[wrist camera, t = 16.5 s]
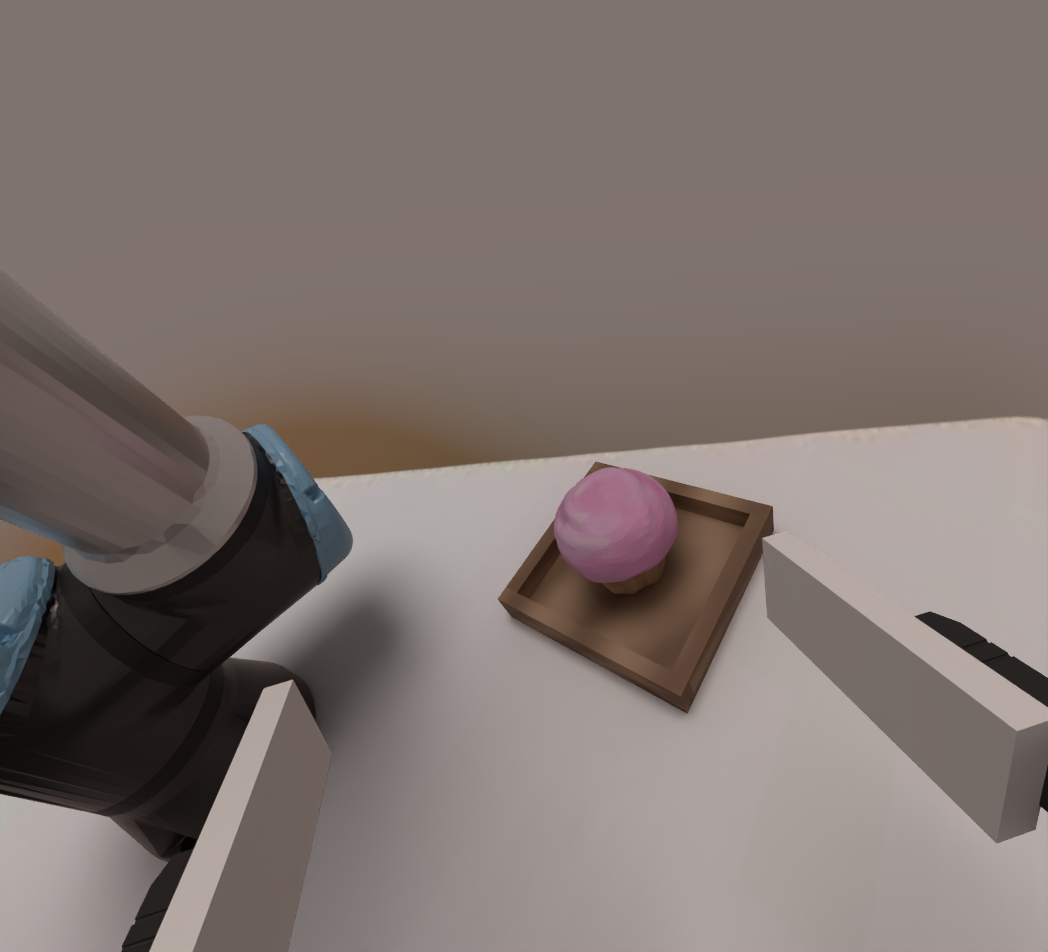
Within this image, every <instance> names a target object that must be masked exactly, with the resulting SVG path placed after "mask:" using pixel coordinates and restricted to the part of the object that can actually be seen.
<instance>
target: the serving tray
mask: <svg viewBox="0 0 1048 952" xmlns="http://www.w3.org/2000/svg"><path fill="white" fill-rule="evenodd" d="M607 467H614V468H619V467H615V466H611V465H607V464H603V463H599V462H595V463H594V464H593V466H592V467H591V469H590V470H589V471H588V473H587V474H586V476H588V475H590V474H591V473H593V472H595V471H597V470H600V469H603V468H607ZM586 476H585V477H586ZM649 476H651V475H649ZM585 477H584V478H585ZM651 477H652V478H654V479H655V480H656V481H657V482H659V483H660V484H661V485H662V486H663V487H664V489H665V490H666V491H667V493H668V494H669V496H670V498H671V500H672V502H673V504H674V507H675V509H676V512H677V519H678V532H677V535H676V538H675V541H674V543H673V545H672V546H671V548H670V550H669V551H668V553H667V554H666V558H665V565H664V569H663V573H662V576H661V578H660V579H659V580H658V581H657V582H655V583H654V584H652V585H649V586H646V587H644V588H642V589H640V590H639V591H638V592H636V593H635V594H615V593H613V592H612V591H610V590H609V589H608V588H606V587H605V586H604V585H603V584H602V583H597V582H593V581H590V580H588V579H587V578H585V577H583V576H582V575H580V574H579V573H577V572H576V571H575V570H573V569H572V568H571V567H570V566H569V565H568V564H567V563H566V562H565V560H564V559H563V558H562V556H561V553H560V551H559V549H558V545H557V541H556V538H555V536H554V521H555V519H554V521H553V522H552V523H551V525H550V526H549V528H548V529H547V531H546V532H545V533H544V535H543V536H542V538H541V539H540V540H539V542H538V543H537V545H536V546H535V547H534V549H533V550H532V552H531V553H530V554H529V556H528V557H527V559H526V560H525V561H524V563H523V564H522V566H521V567H520V568H519V570H518V571H517V573H516V574H515V576H514V577H513V578H512V580H511V581H510V583H509V584H508V585H507V587H506V588H505V590H504V591H503V592H502V594H501V595H500V597H499V598H498V600H499V601H500V603H501V604H502V605H503V607H504V608H505V609H506V610H507V612H508V613H509V614H510V615H511V616H512V617H513V618H515V619H517V620H519V621H521V622H523V623H524V624H526V625H528V626H530V627H532V628H533V629H535V630H537V631H539V632H541V633H543V634H544V635H546V636H548V637H550V638H552V639H553V640H555V641H557V642H559V643H561V644H563V645H564V646H566V647H568V648H570V649H572V650H573V651H575V652H577V653H579V654H581V655H583V656H584V657H586V658H588V659H590V660H592V661H593V662H595V663H597V664H599V665H601V666H603V667H604V668H606V669H608V670H610V671H612V672H613V673H615V674H617V675H619V676H621V677H623V678H624V679H626V680H628V681H630V682H632V683H633V684H635V685H637V686H639V687H641V688H643V689H644V690H646V691H648V692H650V693H652V694H653V695H655V696H657V697H659V698H661V699H663V700H664V701H666V702H668V703H670V704H672V705H673V706H675V707H677V708H679V709H681V710H683V711H684V712H686V713H688V710H689V708H690V706H691V704H692V702H693V700H694V698H695V696H696V693H697V691H698V689H699V687H700V685H701V683H702V681H703V679H704V676H705V674H706V672H707V670H708V668H709V666H710V664H711V662H712V659H713V657H714V655H715V653H716V651H717V649H718V647H719V645H720V642H721V640H722V638H723V636H724V634H725V632H726V630H727V628H728V626H729V623H730V621H731V619H732V617H733V615H734V613H735V611H736V609H737V606H738V604H739V602H740V600H741V598H742V596H743V594H744V592H745V589H746V587H747V585H748V583H749V581H750V579H751V577H752V575H753V572H754V570H755V568H756V566H757V564H758V562H759V560H760V558H761V555H762V553H763V545H762V538H764V537H767V536H771V534H772V532H773V530H774V526H773V506H769V505H765V504H761V503H757V502H753V501H749V500H745V499H741V498H737V497H733V496H730V495H726V494H722V493H718V492H714V491H710V490H706V489H702V488H698V487H694V486H690V485H686V484H682V483H678V482H674V481H670V480H666V479H662V478H659V477H655V476H651Z"/></svg>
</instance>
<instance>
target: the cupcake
mask: <svg viewBox="0 0 1048 952" xmlns="http://www.w3.org/2000/svg"><path fill="white" fill-rule="evenodd" d="M677 532H678V519H677V512H676V509H675V507H674V504H673V502H672V500H671V498H670V496H669V494H668V493H667V491H666V490H665V489H664V487H663V486H662V485H661V484H660V483H659V482H657V481H656V480H655V479H654V478H652V477H651V476H649V475H647V474H645V473H642V472H639V471H637V470H633V469H626V468H614V467H607V468H603V469H600V470H597V471H595V472H593V473H591V474H590V475H588V476H586V477H585V478H583V479H582V480H581V481H579V482H578V483H577V484H576V486H574V487H573V488H571V489H570V490H569V491H568V492H567V494H566V495H565V497H564V499H563V501H562V503H561V504H560V506H559V508H558V510H557V513H556V516H555V521H554V536H555V538H556V541H557V545H558V549H559V551H560V553H561V556H562V558H563V559H564V560H565V562H566V563H567V564H568V565H569V566H570V567H571V568H572V569H573V570H575V571H576V572H577V573H579V574H580V575H582V576H583V577H585V578H587V579H588V580H590V581H593V582H597V583H602V584H603V585H604V586H605V587H606V588H608V589H609V590H610V591H612V592H613V593H615V594H635V593H636V592H638V591H639V590H640V589H642V588H644V587H646V586H649V585H652V584H654V583H655V582H657V581H658V580H659V579H660V578H661V576H662V573H663V569H664V565H665V558H666V554H667V553H668V551H669V550H670V548H671V546H672V545H673V543H674V541H675V538H676V535H677Z"/></svg>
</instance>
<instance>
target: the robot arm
mask: <svg viewBox="0 0 1048 952" xmlns="http://www.w3.org/2000/svg"><path fill="white" fill-rule="evenodd" d="M0 520H3V521H5V522H8V523H10V524H13V525H15V526H18V527H20V528H23V529H25V530H28V531H31V532H33V533H36V534H38V535H41V536H43V537H46V538H48V539H51V540H54V541H56V542H59V543H61V544H62V549H63V554H64V558H65V561H66V563H64V564H63V565H61V566H58V567H56V566H54V563H53V561H51V560H50V559H48V558H39V557H35V556H21V557H18V558H15V559H14V560H13V561H8V562H6V563H4V564H2V565H1V566H0V794H3V795H7V796H12V797H17V798H22V799H27V800H32V801H36V802H41V803H46V804H51V805H56V806H61V807H65V808H70V809H75V810H80V811H85V812H90V813H94V814H99V815H103V816H107V817H110V818H111V819H112V820H113V821H114V822H115V823H117V824H118V825H119V826H120V827H121V828H122V829H123V830H125V831H126V832H127V833H128V834H129V835H130V836H132V837H133V838H134V839H135V840H136V841H137V842H138V843H140V844H141V845H142V846H143V847H144V848H145V849H146V850H148V851H149V852H150V853H151V854H152V855H154V856H155V857H157V858H159V859H161V860H164V861H167V862H169V863H168V864H167V865H166V867H165V868H164V869H163V871H162V872H161V873H160V874H159V876H158V877H157V878H156V880H155V881H154V882H153V884H152V885H151V887H150V889H149V891H148V893H147V895H146V897H145V899H144V901H143V903H142V905H141V907H140V910H139V912H138V914H137V916H136V918H135V920H136V922H135V924H134V925H132V926H131V928H130V930H129V932H128V935H127V937H126V939H125V941H124V943H123V945H122V952H288V948H289V943H290V939H291V934H292V930H293V926H294V921H295V917H296V912H297V908H298V903H299V899H300V895H301V890H302V886H303V881H304V877H305V872H306V868H307V863H308V859H309V855H310V850H311V846H312V841H313V837H314V832H315V828H316V824H317V819H318V815H319V810H320V806H321V801H322V797H323V793H324V788H325V784H326V779H327V775H328V770H329V766H330V761H331V757H332V752H331V750H330V748H329V746H328V745H327V743H326V741H325V739H324V737H323V735H322V733H321V731H320V729H319V728H318V726H317V724H316V722H315V706H314V701H313V697H312V694H311V691H310V689H309V687H308V686H307V684H306V683H305V682H304V680H303V679H301V678H300V677H299V676H297V675H296V674H294V673H293V672H291V671H289V670H287V669H286V668H284V667H282V666H280V665H277V664H274V663H271V662H264V661H255V660H246V659H237V658H229V657H231V656H232V655H233V654H234V653H235V652H237V651H238V650H239V649H240V648H241V647H242V646H244V645H245V644H246V643H247V642H248V641H250V640H251V639H252V638H253V637H254V636H255V635H257V634H258V633H259V632H260V631H261V630H263V629H264V628H265V627H266V626H268V625H269V624H270V623H271V622H272V621H274V620H275V619H276V618H277V617H279V616H280V615H281V614H282V613H283V612H285V611H286V610H287V609H288V608H290V607H291V606H292V605H293V604H294V603H296V602H297V601H298V600H299V599H301V598H302V597H303V596H304V595H305V594H307V593H308V592H309V591H310V590H312V589H313V588H314V587H315V586H316V585H320V584H321V583H322V582H324V581H325V579H326V577H327V575H328V574H329V573H330V572H331V571H332V570H333V569H334V568H335V567H336V566H337V565H338V564H339V563H341V562H342V561H343V560H344V559H345V558H346V557H347V556H348V554H349V553H350V551H351V549H352V545H353V537H352V534H351V531H350V529H349V528H348V526H347V524H346V523H345V521H344V520H343V518H342V517H341V515H340V514H339V512H338V511H337V510H336V508H335V507H334V505H333V504H332V503H331V501H330V500H329V499H328V498H327V496H326V495H325V494H324V492H323V491H322V490H321V489H320V488H319V487H318V484H317V483H316V482H315V481H314V479H313V478H312V477H311V475H310V474H309V472H308V471H307V469H306V468H305V467H304V466H303V464H302V463H301V462H300V461H299V459H298V458H297V457H296V455H295V454H294V453H293V452H292V450H291V449H290V448H289V447H288V446H287V444H286V443H285V442H284V441H283V440H282V438H281V437H280V436H279V435H278V434H277V433H276V432H275V431H274V429H273V428H271V427H270V426H268V425H265V424H258V425H256V426H254V427H252V428H246V429H245V430H244V431H242V432H241V431H240V430H238V429H237V428H235V427H234V426H232V425H231V424H229V423H228V422H226V421H224V420H221V419H218V418H215V417H208V416H186V417H182V416H181V415H179V414H178V413H177V412H176V411H175V410H173V409H172V408H171V407H170V406H168V405H167V404H166V403H165V402H163V401H162V400H161V399H160V398H159V397H157V396H156V395H155V394H154V393H152V392H151V391H150V390H149V389H147V388H146V387H145V386H144V385H143V384H141V383H140V382H139V381H138V380H136V379H135V378H134V377H133V376H131V375H130V374H129V373H128V372H127V371H125V370H124V369H123V368H122V367H120V366H119V365H118V364H117V363H115V362H114V361H113V360H112V359H111V358H109V357H108V356H107V355H106V354H104V353H103V352H102V351H101V350H99V349H98V348H97V347H96V346H95V345H93V344H92V343H91V342H90V341H88V340H87V339H86V338H85V337H83V336H82V335H81V334H80V333H78V332H77V331H76V330H75V329H74V328H72V327H71V326H70V325H69V324H67V323H66V322H65V321H64V320H63V319H61V318H60V317H59V316H58V315H56V314H55V313H54V312H53V311H51V310H50V309H49V308H48V307H47V306H45V305H44V304H43V303H42V302H40V301H39V300H38V299H37V298H35V297H34V296H33V295H32V294H31V293H29V292H28V291H27V290H26V289H24V288H23V287H22V286H21V285H19V284H18V283H17V282H16V281H15V280H13V279H12V278H11V277H10V276H8V275H7V274H6V273H5V272H3V271H2V270H1V269H0ZM762 545H763V560H764V575H765V591H766V606H767V618H768V619H769V620H770V621H771V622H772V623H773V624H774V625H775V626H776V627H777V628H778V629H779V630H780V631H782V632H783V633H784V634H785V635H786V636H787V637H788V638H789V639H790V640H791V641H792V642H793V643H794V644H795V645H796V646H797V647H798V648H799V649H800V650H801V651H802V652H803V653H804V654H805V655H806V656H807V657H808V658H809V659H810V660H811V661H812V662H813V663H814V664H815V665H816V666H817V667H818V668H819V669H820V670H821V671H822V672H823V673H824V674H825V675H826V676H827V677H828V678H829V679H830V680H831V681H832V682H833V683H834V684H835V685H836V686H837V687H838V688H839V689H840V690H841V691H842V692H843V693H844V694H845V695H846V696H847V697H848V698H849V699H850V700H852V701H853V702H854V703H855V704H856V705H857V706H858V707H859V708H860V709H861V710H862V711H863V712H864V713H865V714H866V715H867V716H868V717H869V718H870V719H871V720H872V721H873V722H874V723H875V724H876V725H877V726H878V727H879V728H880V729H881V730H882V731H883V732H884V733H885V734H886V735H887V736H888V737H889V738H890V739H891V740H892V741H893V742H894V743H895V744H896V745H897V746H898V747H899V748H900V749H901V750H902V751H903V752H904V753H905V754H906V755H907V756H908V757H909V758H910V759H911V760H912V761H913V762H914V763H915V764H916V765H917V766H918V767H919V768H921V769H922V770H923V771H924V772H925V773H926V774H927V775H928V776H929V777H930V778H931V779H932V780H933V781H934V782H935V783H936V784H937V785H938V786H939V787H940V788H941V789H942V790H943V791H944V792H945V793H946V794H947V795H948V796H949V797H950V798H951V799H952V800H953V801H954V802H955V803H956V804H957V805H958V806H959V807H960V808H961V809H962V810H963V811H964V812H965V813H966V814H967V815H968V816H969V817H970V818H971V819H972V820H973V821H974V822H975V823H976V824H977V825H978V826H979V827H980V828H981V829H982V830H983V831H984V832H985V833H986V834H987V835H988V836H989V837H991V838H992V839H993V840H994V841H995V842H996V843H999V842H1002V841H1005V840H1008V839H1010V838H1013V837H1016V836H1019V835H1022V834H1024V833H1027V832H1030V831H1033V830H1035V829H1036V825H1037V820H1038V816H1039V811H1040V807H1042V808H1043V809H1045V810H1046V811H1047V812H1048V678H1047V677H1045V676H1044V675H1042V674H1041V673H1039V672H1038V671H1036V670H1034V669H1033V668H1031V667H1030V666H1028V665H1026V664H1025V663H1023V662H1022V661H1020V660H1019V659H1017V658H1015V657H1014V656H1013V657H1010V656H1009V655H1008V652H1006V651H1004V650H1003V649H1001V648H1000V647H998V646H996V645H995V644H993V643H992V642H991V643H988V642H987V640H986V639H985V638H984V637H982V636H981V635H979V634H977V633H976V632H974V631H973V630H971V629H970V628H968V627H966V626H965V625H963V624H962V623H960V622H957V621H954V620H952V619H949V618H946V617H944V616H941V615H938V614H936V613H933V612H927V613H924V614H920V615H917V616H913V615H911V614H910V613H908V612H907V611H905V610H904V609H902V608H901V607H899V606H898V605H897V604H895V603H894V602H892V601H891V600H889V599H888V598H886V597H885V596H883V595H882V594H880V593H879V592H877V591H876V590H874V589H873V588H872V587H870V586H869V585H867V584H866V583H864V582H863V581H861V580H860V579H858V578H857V577H855V576H854V575H852V574H851V573H849V572H848V571H847V570H845V569H844V568H842V567H841V566H839V565H838V564H836V563H835V562H833V561H832V560H830V559H829V558H827V557H826V556H825V555H823V554H822V553H820V552H819V551H817V550H816V549H814V548H813V547H811V546H810V545H808V544H807V543H805V542H804V541H802V540H801V539H800V538H798V537H797V536H795V535H794V534H792V533H791V532H789V531H788V530H787V531H784V532H781V533H777V534H774V535H771V536H767V537H764V538H762Z"/></svg>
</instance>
